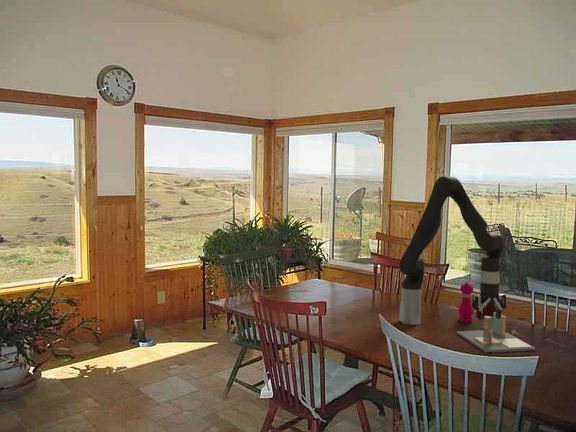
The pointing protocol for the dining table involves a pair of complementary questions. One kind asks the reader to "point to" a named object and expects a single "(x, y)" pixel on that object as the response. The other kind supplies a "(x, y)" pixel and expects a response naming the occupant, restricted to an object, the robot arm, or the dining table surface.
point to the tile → (499, 325)
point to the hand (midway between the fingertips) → (488, 318)
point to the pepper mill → (466, 303)
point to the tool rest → (513, 343)
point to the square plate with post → (487, 333)
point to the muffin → (490, 309)
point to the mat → (491, 348)
